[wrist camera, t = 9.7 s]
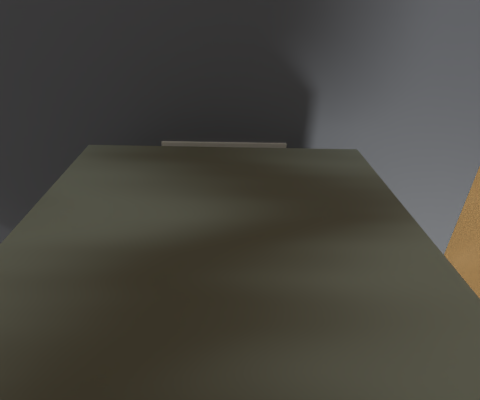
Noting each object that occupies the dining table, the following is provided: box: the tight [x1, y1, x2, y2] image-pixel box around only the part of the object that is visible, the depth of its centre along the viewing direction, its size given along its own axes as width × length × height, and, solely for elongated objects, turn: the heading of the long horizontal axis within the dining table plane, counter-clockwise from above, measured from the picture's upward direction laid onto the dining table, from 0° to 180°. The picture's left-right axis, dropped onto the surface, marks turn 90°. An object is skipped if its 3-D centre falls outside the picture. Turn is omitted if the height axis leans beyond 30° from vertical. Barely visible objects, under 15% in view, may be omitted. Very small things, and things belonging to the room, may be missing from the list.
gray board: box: [0, 0, 480, 255], centre depth 11 cm, size 14×14×1 cm
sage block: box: [0, 145, 480, 400], centre depth 7 cm, size 6×6×6 cm
